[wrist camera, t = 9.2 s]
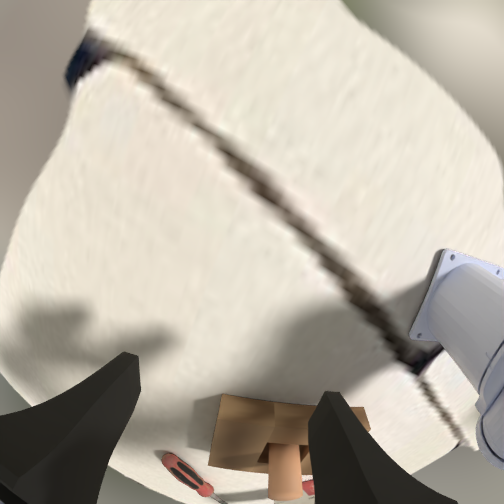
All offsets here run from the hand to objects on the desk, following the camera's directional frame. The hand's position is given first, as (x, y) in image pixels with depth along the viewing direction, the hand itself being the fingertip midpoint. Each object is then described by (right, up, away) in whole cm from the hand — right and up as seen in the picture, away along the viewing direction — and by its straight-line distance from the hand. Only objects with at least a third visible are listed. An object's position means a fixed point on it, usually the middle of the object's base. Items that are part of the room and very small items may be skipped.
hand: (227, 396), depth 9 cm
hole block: (+4, -13, +14) cm, 20 cm away
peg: (+4, -13, +14) cm, 20 cm away
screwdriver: (-6, -30, +21) cm, 37 cm away
